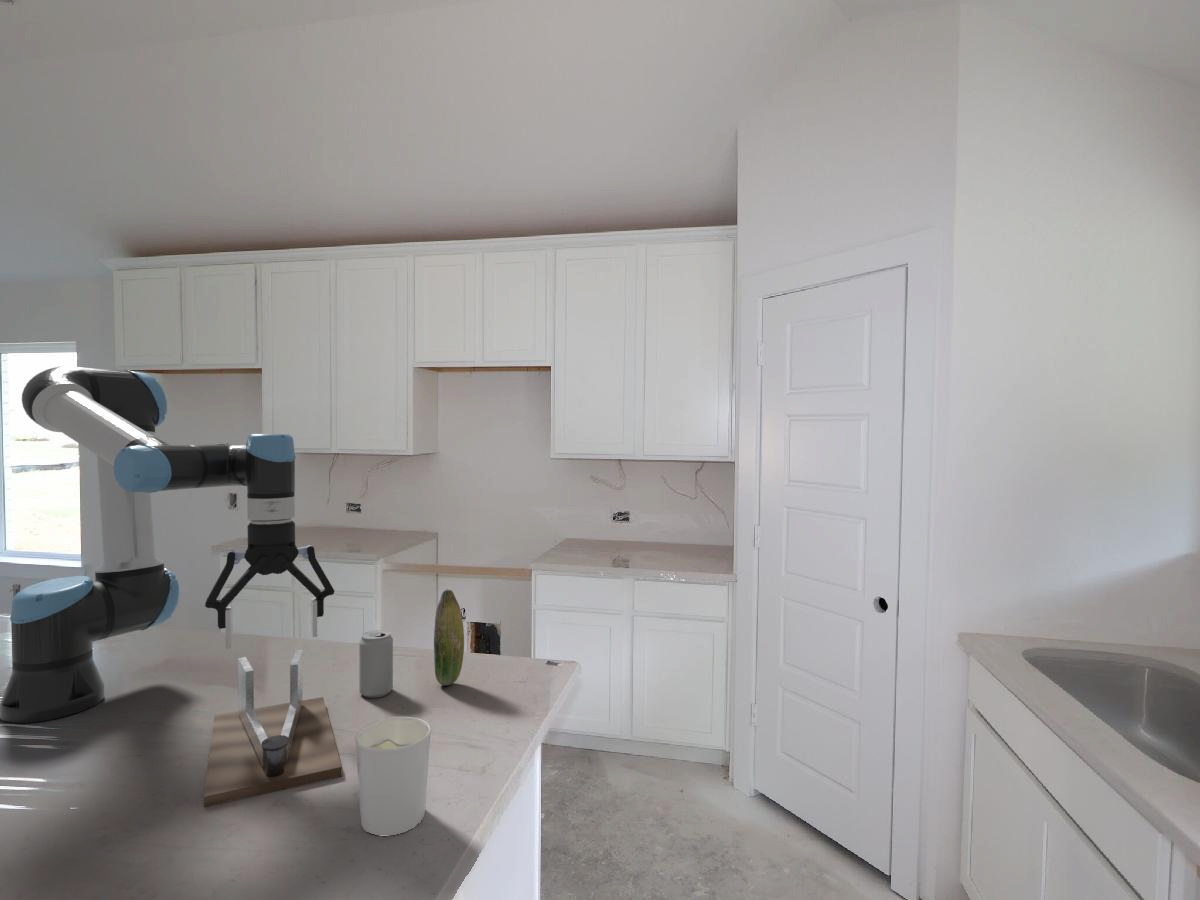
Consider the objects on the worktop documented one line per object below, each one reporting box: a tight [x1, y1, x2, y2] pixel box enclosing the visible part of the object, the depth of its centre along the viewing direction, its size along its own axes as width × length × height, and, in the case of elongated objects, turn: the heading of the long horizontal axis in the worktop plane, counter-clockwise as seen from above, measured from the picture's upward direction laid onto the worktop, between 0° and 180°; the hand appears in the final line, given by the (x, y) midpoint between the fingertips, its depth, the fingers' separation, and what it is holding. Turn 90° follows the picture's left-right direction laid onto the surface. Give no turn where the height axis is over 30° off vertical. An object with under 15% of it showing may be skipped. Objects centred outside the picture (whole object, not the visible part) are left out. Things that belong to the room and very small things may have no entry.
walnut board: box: [203, 696, 342, 808], centre depth 108 cm, size 29×18×2 cm, turn 28°
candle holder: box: [355, 716, 432, 836], centre depth 89 cm, size 10×10×12 cm
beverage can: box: [358, 629, 394, 699], centre depth 131 cm, size 6×6×12 cm
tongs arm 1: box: [237, 656, 268, 767], centre depth 108 cm, size 23×1×10 cm, turn 37°
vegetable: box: [433, 588, 465, 686], centre depth 135 cm, size 6×6×20 cm
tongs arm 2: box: [281, 649, 303, 762], centre depth 110 cm, size 23×1×10 cm, turn 19°
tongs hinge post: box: [262, 735, 289, 777], centre depth 97 cm, size 4×4×5 cm
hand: (272, 640), depth 115 cm, fingers open, 13 cm apart
